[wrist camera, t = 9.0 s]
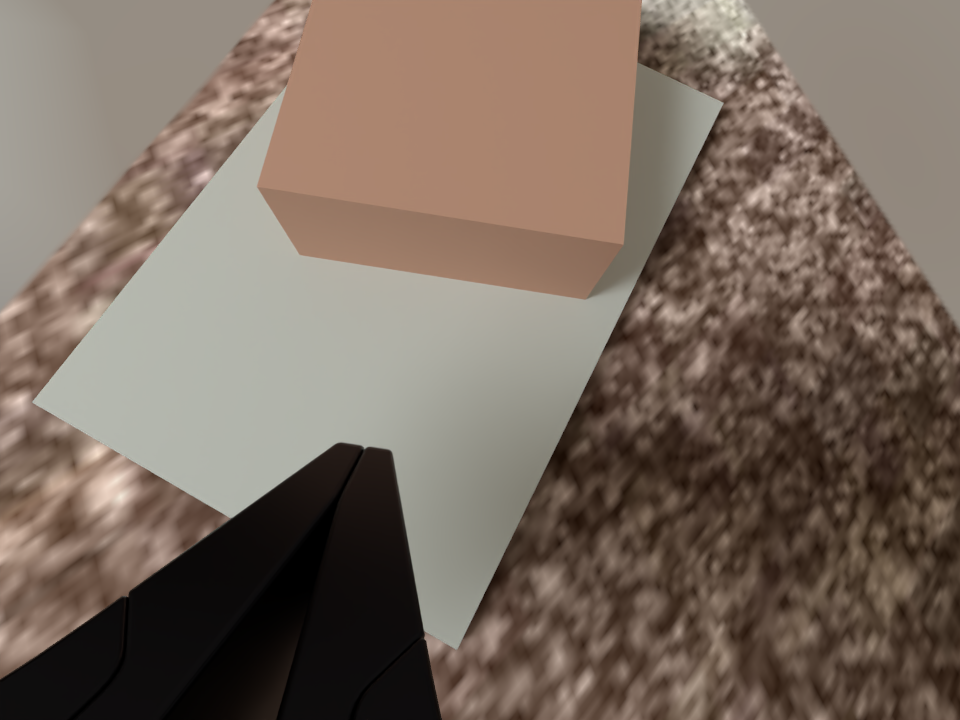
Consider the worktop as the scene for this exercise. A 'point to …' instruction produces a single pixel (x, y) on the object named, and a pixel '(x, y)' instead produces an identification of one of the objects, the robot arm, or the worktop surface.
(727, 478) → the worktop surface
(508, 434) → the rubber mat
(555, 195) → the terracotta slab
